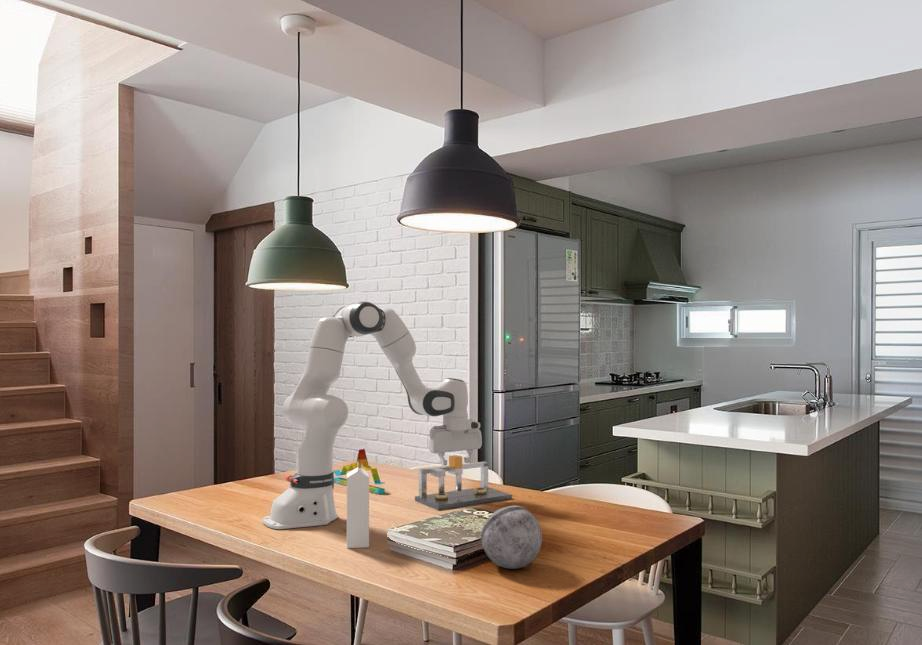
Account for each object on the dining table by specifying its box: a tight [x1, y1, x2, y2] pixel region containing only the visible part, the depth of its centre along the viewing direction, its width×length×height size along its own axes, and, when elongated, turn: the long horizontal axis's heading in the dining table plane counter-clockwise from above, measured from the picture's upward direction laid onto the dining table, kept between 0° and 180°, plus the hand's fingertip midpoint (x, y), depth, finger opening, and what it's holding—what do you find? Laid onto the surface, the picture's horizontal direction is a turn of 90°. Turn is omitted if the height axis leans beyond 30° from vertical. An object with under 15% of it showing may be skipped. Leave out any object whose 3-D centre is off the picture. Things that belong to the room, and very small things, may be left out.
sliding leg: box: [447, 454, 464, 491], centre depth 242 cm, size 3×6×12 cm, turn 32°
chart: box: [332, 448, 386, 495], centre depth 262 cm, size 30×3×15 cm, turn 43°
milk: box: [346, 467, 370, 549], centre depth 188 cm, size 6×6×22 cm
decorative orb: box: [480, 505, 543, 570], centre depth 169 cm, size 15×14×15 cm
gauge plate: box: [414, 460, 513, 511], centre depth 241 cm, size 30×16×11 cm, turn 123°
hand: (455, 463), depth 242 cm, fingers open, 8 cm apart
